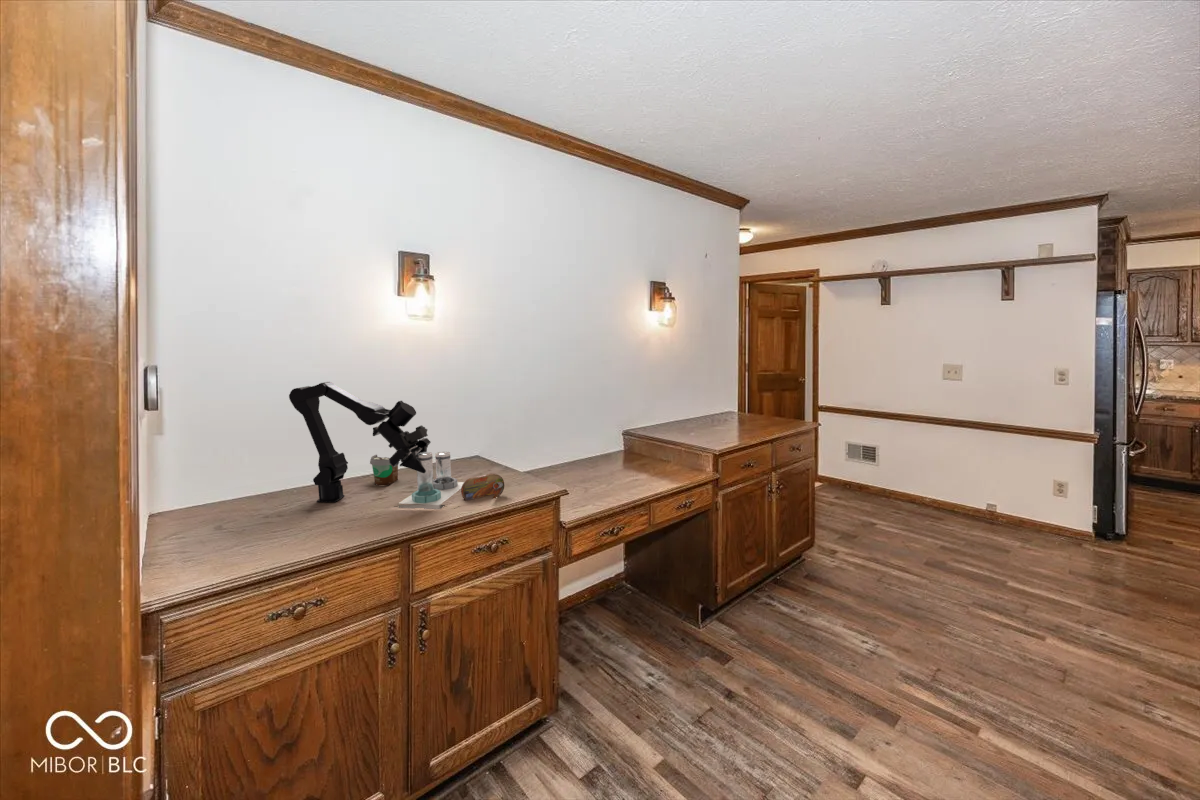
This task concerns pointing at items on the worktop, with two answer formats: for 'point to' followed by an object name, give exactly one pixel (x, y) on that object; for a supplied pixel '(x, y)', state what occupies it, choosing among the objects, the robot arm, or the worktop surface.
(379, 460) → the food container
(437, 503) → the pallet
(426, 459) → the cylinder
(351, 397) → the robot arm
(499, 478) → the tin
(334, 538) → the worktop surface
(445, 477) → the clear lidded jar
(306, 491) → the worktop surface
